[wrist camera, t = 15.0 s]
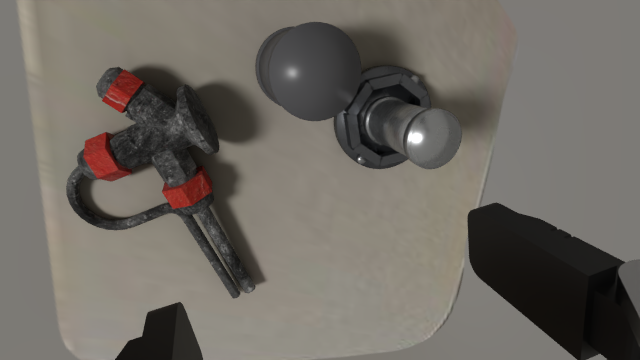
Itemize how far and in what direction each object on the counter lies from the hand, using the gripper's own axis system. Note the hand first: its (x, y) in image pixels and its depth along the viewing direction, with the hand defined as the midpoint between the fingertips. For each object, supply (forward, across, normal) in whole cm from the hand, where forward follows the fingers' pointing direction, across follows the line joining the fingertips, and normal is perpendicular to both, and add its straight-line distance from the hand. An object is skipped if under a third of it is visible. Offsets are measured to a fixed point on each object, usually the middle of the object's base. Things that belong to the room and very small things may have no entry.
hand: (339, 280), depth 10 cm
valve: (+31, +9, +7) cm, 33 cm away
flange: (+30, -14, +4) cm, 34 cm away
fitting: (+29, -14, +4) cm, 33 cm away
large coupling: (+30, -6, -3) cm, 31 cm away
